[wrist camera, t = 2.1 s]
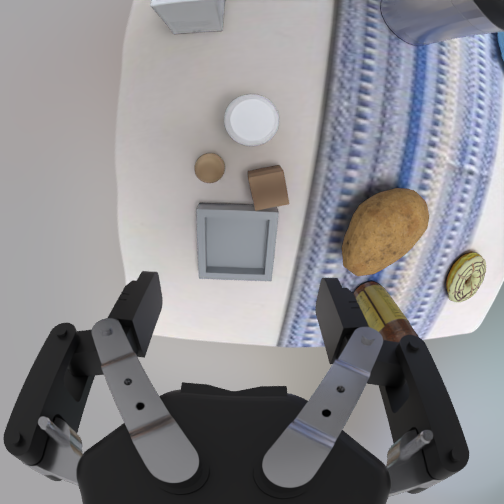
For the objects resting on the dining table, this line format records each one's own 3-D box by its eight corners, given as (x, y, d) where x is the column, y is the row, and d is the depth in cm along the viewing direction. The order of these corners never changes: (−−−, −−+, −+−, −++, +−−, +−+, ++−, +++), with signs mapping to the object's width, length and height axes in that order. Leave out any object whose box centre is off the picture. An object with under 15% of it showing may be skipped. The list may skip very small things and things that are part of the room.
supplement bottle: (221, 132, 31) (212, 137, 22) (237, 92, 29) (234, 82, 20) (262, 147, 32) (269, 158, 23) (279, 108, 30) (293, 104, 21)
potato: (315, 230, 37) (330, 258, 30) (387, 163, 33) (418, 177, 26) (353, 270, 41) (372, 301, 34) (418, 211, 36) (447, 233, 29)
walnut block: (247, 171, 33) (248, 178, 30) (279, 164, 33) (283, 171, 30) (254, 200, 35) (255, 210, 32) (284, 194, 35) (289, 204, 31)
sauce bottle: (358, 314, 45) (399, 407, 27) (343, 292, 43) (388, 392, 25) (388, 294, 43) (441, 382, 26) (377, 271, 41) (437, 362, 23)
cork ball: (197, 151, 32) (192, 155, 29) (226, 151, 32) (224, 155, 29) (197, 179, 34) (192, 186, 30) (225, 179, 34) (223, 186, 31)
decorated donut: (441, 302, 46) (450, 314, 42) (442, 262, 41) (453, 273, 38) (476, 282, 44) (485, 292, 40) (479, 241, 39) (490, 250, 36)
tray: (199, 203, 35) (196, 209, 33) (276, 206, 36) (278, 212, 33) (201, 269, 40) (198, 278, 38) (269, 271, 40) (271, 281, 38)
